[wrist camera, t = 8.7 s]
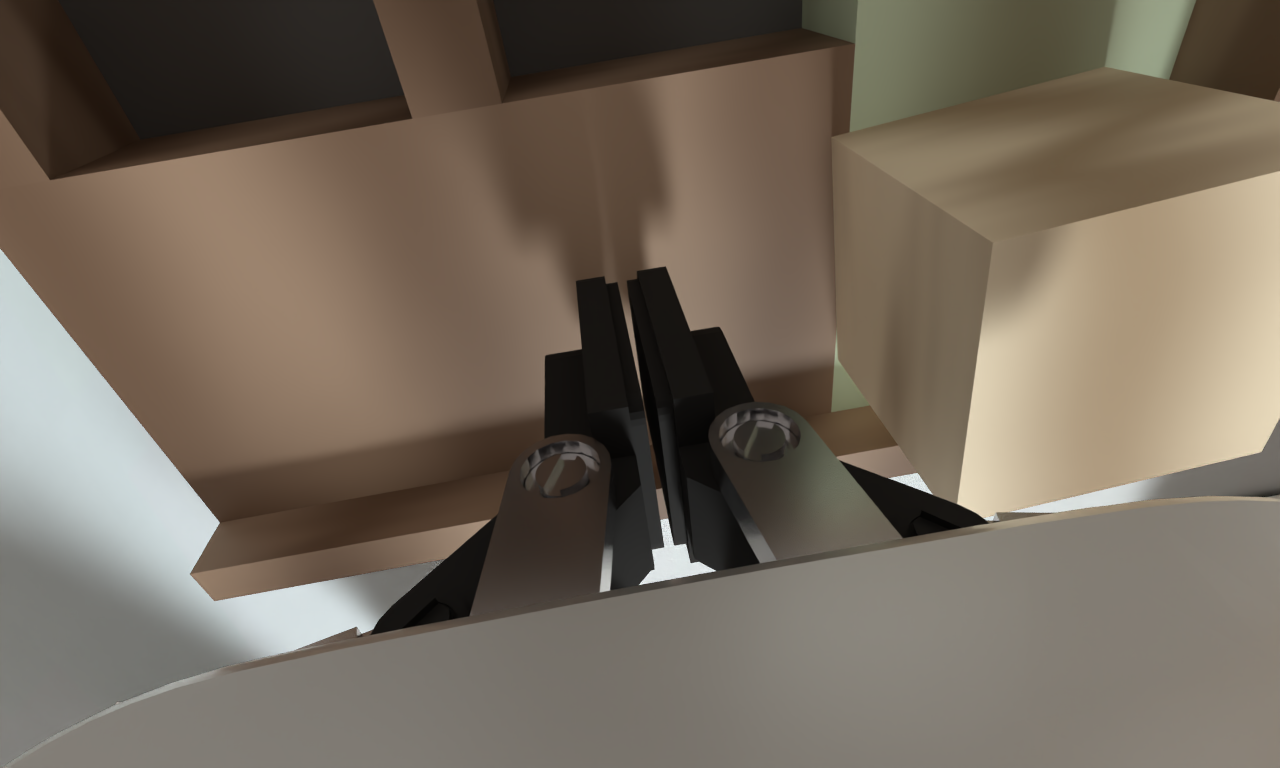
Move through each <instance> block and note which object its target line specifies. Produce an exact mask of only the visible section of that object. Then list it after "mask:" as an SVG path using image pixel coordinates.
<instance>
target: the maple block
mask: <svg viewBox="0 0 1280 768" xmlns="http://www.w3.org/2000/svg"><path fill="white" fill-rule="evenodd" d="M831 139H832V175H833V211H834V246H835V282H836V317H837V353H838V360H839V362H840V363H841V365H842V366H843V368H844V369H845V370H846V372H847V373H848V375H849V376H850V377H851V379H852V380H853V382H854V383H855V385H856V386H857V387H858V389H859V390H860V392H861V393H862V395H863V396H864V397H865V399H866V400H867V402H868V403H869V404H870V406H871V407H872V409H873V410H874V412H875V413H876V414H877V416H878V417H879V419H880V420H881V422H882V423H883V424H884V426H885V427H886V429H887V430H888V431H889V433H890V434H891V436H892V437H893V439H894V440H895V441H896V443H897V444H898V446H899V447H900V448H901V450H902V451H903V453H904V454H905V456H906V457H907V458H908V460H909V461H910V463H911V464H912V466H913V467H914V468H915V470H916V471H917V473H918V474H919V475H920V477H921V478H922V480H923V481H924V483H925V484H926V485H927V487H928V488H929V490H930V491H931V492H932V494H933V495H934V496H937V497H940V498H942V499H945V500H948V501H950V502H953V503H956V504H958V505H961V506H963V507H965V508H967V509H969V510H971V511H973V512H975V513H977V514H978V515H980V516H981V517H982V518H985V517H990V516H994V515H995V513H996V512H1011V511H1015V510H1019V509H1023V508H1028V507H1032V506H1036V505H1040V504H1045V503H1049V502H1053V501H1057V500H1061V499H1066V498H1070V497H1074V496H1078V495H1083V494H1087V493H1091V492H1095V491H1099V490H1104V489H1108V488H1112V487H1116V486H1121V485H1125V484H1129V483H1133V482H1138V481H1142V480H1146V479H1150V478H1154V477H1159V476H1163V475H1167V474H1171V473H1176V472H1180V471H1184V470H1188V469H1192V468H1197V467H1201V466H1205V465H1209V464H1214V463H1218V462H1222V461H1226V460H1231V459H1235V458H1239V457H1243V456H1247V455H1252V454H1256V453H1260V452H1262V450H1263V448H1264V446H1265V445H1266V443H1267V441H1268V439H1269V437H1270V435H1271V433H1272V431H1273V430H1274V428H1275V426H1276V424H1277V422H1278V420H1279V418H1280V102H1277V101H1272V100H1267V99H1262V98H1257V97H1252V96H1247V95H1242V94H1237V93H1232V92H1227V91H1222V90H1217V89H1213V88H1208V87H1203V86H1198V85H1193V84H1188V83H1183V82H1178V81H1173V80H1168V79H1163V78H1158V77H1153V76H1148V75H1144V74H1139V73H1134V72H1129V71H1124V70H1119V69H1114V68H1109V67H1101V68H1098V69H1094V70H1090V71H1086V72H1082V73H1078V74H1074V75H1070V76H1066V77H1063V78H1059V79H1055V80H1051V81H1047V82H1043V83H1039V84H1035V85H1032V86H1028V87H1024V88H1020V89H1016V90H1012V91H1008V92H1004V93H1000V94H997V95H993V96H989V97H985V98H981V99H977V100H973V101H969V102H966V103H962V104H958V105H954V106H950V107H946V108H942V109H938V110H934V111H931V112H927V113H923V114H919V115H915V116H911V117H907V118H903V119H900V120H896V121H892V122H888V123H884V124H880V125H876V126H872V127H868V128H865V129H861V130H857V131H853V132H849V133H845V134H841V135H837V136H834V137H831Z"/></svg>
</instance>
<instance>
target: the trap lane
mask: <svg viewBox="0 0 1280 768" xmlns="http://www.w3.org/2000/svg"><path fill="white" fill-rule="evenodd" d="M1101 67H1109V68H1114V69H1119V70H1124V71H1129V72H1134V73H1139V74H1144V75H1148V76H1153V77H1158V78H1163V79H1168V80H1173V81H1178V82H1183V83H1188V84H1193V85H1198V86H1203V87H1208V88H1213V89H1217V90H1222V91H1227V92H1232V93H1237V94H1242V95H1247V96H1252V97H1257V98H1262V99H1267V100H1272V101H1277V102H1280V0H0V249H1V250H2V251H3V252H4V254H5V255H6V256H7V257H8V259H9V260H10V261H11V262H12V264H13V265H14V266H15V267H16V269H17V270H18V271H19V272H20V274H21V275H22V276H23V277H24V279H25V280H26V281H27V282H28V284H29V285H30V286H31V287H32V289H33V290H34V291H35V292H36V294H37V295H38V296H39V297H40V299H41V300H42V301H43V302H44V304H45V305H46V306H47V307H48V309H49V310H50V311H51V312H52V313H53V315H54V316H55V317H56V318H57V320H58V321H59V322H60V323H61V325H62V326H63V327H64V328H65V330H66V331H67V332H68V333H69V335H70V336H71V337H72V338H73V340H74V341H75V342H76V343H77V345H78V346H79V347H80V348H81V350H82V351H83V352H84V353H85V355H86V356H87V357H88V358H89V360H90V361H91V362H92V363H93V365H94V366H95V367H96V368H97V370H98V371H99V372H100V373H101V375H102V376H103V377H104V378H105V380H106V381H107V382H108V383H109V385H110V386H111V387H112V388H113V390H114V391H115V392H116V393H117V395H118V396H119V397H120V398H121V400H122V401H123V402H124V403H125V405H126V406H127V407H128V408H129V410H130V411H131V412H132V413H133V415H134V416H135V417H136V418H137V420H138V421H139V422H140V423H141V424H142V426H143V427H144V428H145V429H146V431H147V432H148V433H149V434H150V436H151V437H152V438H153V439H154V441H155V442H156V443H157V444H158V446H159V447H160V448H161V449H162V451H163V452H164V453H165V454H166V456H167V457H168V458H169V459H170V461H171V462H172V463H173V464H174V466H175V467H176V468H177V469H178V471H179V472H180V473H181V474H182V476H183V477H184V478H185V479H186V481H187V482H188V483H189V484H190V486H191V487H192V488H193V489H194V491H195V492H196V493H197V494H198V496H199V497H200V498H201V499H202V501H203V502H204V503H205V504H206V506H207V507H208V508H209V509H210V511H211V512H212V513H213V514H214V516H215V517H216V518H217V519H218V521H219V522H220V524H219V525H218V527H217V529H216V531H215V532H214V534H213V536H212V537H211V539H210V541H209V542H208V544H207V546H206V548H205V549H204V551H203V553H202V554H201V556H200V558H199V560H198V561H197V563H196V565H195V566H194V568H193V570H192V572H191V573H190V575H191V576H192V577H193V578H194V579H195V580H196V581H197V582H198V584H199V585H200V586H201V587H202V588H203V589H204V590H205V591H206V592H207V593H208V594H209V596H210V597H211V598H212V599H213V600H214V601H218V600H223V599H228V598H234V597H239V596H245V595H250V594H256V593H261V592H267V591H272V590H278V589H283V588H289V587H294V586H300V585H305V584H311V583H316V582H322V581H327V580H333V579H338V578H344V577H349V576H354V575H360V574H365V573H371V572H376V571H382V570H387V569H393V568H398V567H404V566H409V565H415V564H420V563H426V562H431V561H437V560H442V559H447V558H448V557H449V556H450V555H451V554H452V553H453V552H455V551H456V550H457V549H458V548H459V547H460V546H461V545H463V544H464V543H465V542H466V541H467V540H468V539H469V538H471V537H472V536H473V535H474V534H475V533H476V532H478V531H479V530H480V529H481V528H482V527H483V526H484V525H486V524H487V523H488V522H489V521H490V520H491V519H492V518H494V517H495V516H496V515H497V514H498V511H499V508H500V504H501V500H502V497H503V493H504V489H505V486H506V482H507V479H508V475H509V471H510V469H511V467H512V465H513V463H514V461H515V460H516V459H517V457H518V456H519V455H520V454H521V453H522V452H523V451H524V450H525V449H527V448H528V447H530V446H531V445H533V444H535V443H536V442H538V441H541V440H543V439H544V409H545V356H546V355H549V354H555V353H561V352H567V351H573V350H579V349H582V345H581V334H580V323H579V312H578V300H577V289H576V281H578V280H584V279H590V278H596V277H602V276H605V281H606V284H608V283H614V282H618V287H619V291H620V296H621V301H622V305H623V310H624V315H625V319H626V324H627V329H628V333H629V338H630V343H631V347H632V352H633V357H634V361H635V366H636V371H637V375H638V380H639V385H640V389H641V394H642V387H641V380H640V373H639V366H638V359H637V352H636V345H635V338H634V331H633V324H632V317H631V310H630V303H629V296H628V289H627V280H633V279H637V271H639V270H646V269H652V268H658V267H664V266H666V268H667V270H668V273H669V276H670V278H671V281H672V284H673V286H674V289H675V291H676V294H677V297H678V299H679V302H680V305H681V307H682V310H683V313H684V315H685V318H686V321H687V323H688V326H689V329H690V331H694V330H700V329H706V328H712V327H720V328H721V330H722V331H723V334H724V336H725V338H726V340H727V342H728V344H729V347H730V349H731V351H732V353H733V355H734V357H735V360H736V362H737V364H738V366H739V368H740V370H741V373H742V375H743V377H744V379H745V381H746V383H747V386H748V388H749V390H750V392H751V394H752V396H753V399H754V401H755V402H770V403H774V404H778V405H783V406H785V407H787V408H789V409H792V410H794V411H796V412H797V413H798V414H800V415H801V416H802V417H803V418H804V419H805V420H806V421H807V422H808V423H809V424H810V426H811V427H812V428H813V429H814V430H815V432H816V433H817V434H818V435H819V437H820V438H821V439H822V440H823V441H824V443H825V444H826V445H827V446H828V448H829V449H830V450H831V451H832V452H833V454H834V455H835V456H836V457H837V458H838V460H840V461H843V462H846V463H848V464H851V465H854V466H856V467H859V468H862V469H864V470H867V471H870V472H872V473H875V474H878V475H881V476H883V477H886V478H891V477H897V476H902V475H908V474H913V473H917V471H916V470H915V468H914V467H913V466H912V464H911V463H910V461H909V460H908V458H907V457H906V456H905V454H904V453H903V451H902V450H901V448H900V447H899V446H898V444H897V443H896V441H895V440H894V439H893V437H892V436H891V434H890V433H889V431H888V430H887V429H886V427H885V426H884V424H883V423H882V422H881V420H880V419H879V417H878V416H877V414H876V413H875V412H874V410H873V409H872V407H871V406H870V404H869V403H868V402H867V400H866V399H865V397H864V396H863V395H862V393H861V392H860V390H859V389H858V387H857V386H856V385H855V383H854V382H853V380H852V379H851V377H850V376H849V375H848V373H847V372H846V370H845V369H844V368H843V366H842V365H841V363H840V362H839V360H838V353H837V317H836V282H835V246H834V211H833V175H832V139H831V137H834V136H837V135H841V134H845V133H849V132H853V131H857V130H861V129H865V128H868V127H872V126H876V125H880V124H884V123H888V122H892V121H896V120H900V119H903V118H907V117H911V116H915V115H919V114H923V113H927V112H931V111H934V110H938V109H942V108H946V107H950V106H954V105H958V104H962V103H966V102H969V101H973V100H977V99H981V98H985V97H989V96H993V95H997V94H1000V93H1004V92H1008V91H1012V90H1016V89H1020V88H1024V87H1028V86H1032V85H1035V84H1039V83H1043V82H1047V81H1051V80H1055V79H1059V78H1063V77H1066V76H1070V75H1074V74H1078V73H1082V72H1086V71H1090V70H1094V69H1098V68H1101ZM642 399H643V394H642ZM643 405H644V401H643ZM644 411H645V407H644ZM645 417H646V412H645ZM646 423H647V430H648V437H649V444H650V451H651V458H652V465H653V472H654V479H655V486H656V493H657V500H658V507H659V514H660V520H661V519H667V518H668V515H667V510H666V505H665V501H664V496H663V491H662V487H661V482H660V477H659V473H658V468H657V463H656V459H655V454H654V449H653V445H652V440H651V436H650V431H649V426H648V422H647V417H646Z"/></svg>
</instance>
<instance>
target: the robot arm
mask: <svg viewBox="0 0 1280 768" xmlns="http://www.w3.org/2000/svg"><path fill="white" fill-rule="evenodd" d="M576 289H577V300H578V312H579V323H580V334H581V345H582V349H579V350H573V351H567V352H561V353H555V354H549V355H546V356H545V409H544V439H543V440H541V441H538V442H536V443H535V444H533V445H531V446H530V447H528V448H527V449H525V450H524V451H523V452H522V453H521V454H520V455H519V456H518V457H517V459H516V460H515V461H514V463H513V465H512V467H511V469H510V471H509V475H508V479H507V482H506V486H505V489H504V493H503V497H502V500H501V504H500V508H499V511H498V514H497V515H496V516H495V517H494V518H492V519H491V520H490V521H489V522H488V523H487V524H486V525H484V526H483V527H482V528H481V529H480V530H479V531H478V532H476V533H475V534H474V535H473V536H472V537H471V538H469V539H468V540H467V541H466V542H465V543H464V544H463V545H461V546H460V547H459V548H458V549H457V550H456V551H455V552H453V553H452V554H451V555H450V556H449V557H448V558H447V559H445V560H444V561H443V562H442V563H441V564H440V565H439V566H437V567H436V568H435V569H434V570H433V571H432V572H430V573H429V574H428V575H427V576H426V577H425V578H424V579H422V580H421V581H420V582H419V583H418V584H417V585H416V586H414V587H413V588H412V589H411V590H410V591H409V592H408V593H406V594H405V595H404V596H403V597H402V598H401V599H399V600H398V601H397V602H396V603H395V604H394V605H393V606H392V607H391V608H390V609H389V610H388V611H387V612H386V613H385V614H384V615H383V616H382V617H381V618H380V619H379V621H378V622H377V624H376V626H375V627H374V629H373V630H371V631H368V632H366V633H363V634H362V633H361V632H360V631H359V629H358V628H357V627H355V628H352V629H350V630H347V631H344V632H342V633H339V634H336V635H334V636H331V637H328V638H326V639H323V640H320V641H318V642H315V643H313V644H310V645H307V646H305V647H302V648H299V649H297V650H294V651H290V652H286V653H282V654H277V655H273V656H269V657H264V658H260V659H256V660H251V661H247V662H243V663H238V664H234V665H230V666H225V667H222V668H219V669H216V670H212V671H209V672H206V673H202V674H199V675H196V676H193V677H189V678H186V679H183V680H179V681H176V682H173V683H170V684H167V685H165V686H162V687H159V688H157V689H154V690H152V691H149V692H146V693H144V694H141V695H139V696H136V697H133V698H131V699H128V700H126V701H123V702H120V703H118V704H115V705H113V706H111V707H109V708H107V709H105V710H103V711H101V712H99V713H97V714H95V715H93V716H91V717H89V718H87V719H85V720H83V721H81V722H79V723H77V724H75V725H73V726H71V727H69V728H67V729H65V730H63V731H61V732H59V733H57V734H55V735H54V736H52V737H50V738H48V739H47V740H45V741H43V742H42V743H40V744H38V745H36V746H35V747H33V748H31V749H30V750H28V751H26V752H25V753H23V754H22V755H20V756H19V757H17V758H16V759H14V760H13V761H11V762H10V763H8V764H7V765H5V766H4V767H2V768H1280V495H1275V496H1269V497H1235V496H1202V497H1187V498H1170V499H1153V500H1145V501H1138V502H1131V503H1123V504H1116V505H1109V506H1100V507H1092V508H1084V509H1078V510H1071V511H1065V512H1058V513H1015V512H996V513H995V516H994V519H993V521H986V520H985V519H983V518H982V517H981V516H980V515H978V514H977V513H975V512H973V511H971V510H969V509H967V508H965V507H963V506H961V505H958V504H956V503H953V502H950V501H948V500H945V499H942V498H940V497H937V496H934V495H932V494H929V493H926V492H924V491H921V490H918V489H915V488H913V487H910V486H907V485H905V484H902V483H899V482H897V481H894V480H891V479H889V478H886V477H883V476H881V475H878V474H875V473H872V472H870V471H867V470H864V469H862V468H859V467H856V466H854V465H851V464H848V463H846V462H843V461H840V460H838V458H837V457H836V456H835V455H834V454H833V452H832V451H831V450H830V449H829V448H828V446H827V445H826V444H825V443H824V441H823V440H822V439H821V438H820V437H819V435H818V434H817V433H816V432H815V430H814V429H813V428H812V427H811V426H810V424H809V423H808V422H807V421H806V420H805V419H804V418H803V417H802V416H801V415H800V414H798V413H797V412H796V411H794V410H792V409H789V408H787V407H785V406H783V405H778V404H774V403H770V402H755V401H754V399H753V396H752V394H751V392H750V390H749V388H748V386H747V383H746V381H745V379H744V377H743V375H742V373H741V370H740V368H739V366H738V364H737V362H736V360H735V357H734V355H733V353H732V351H731V349H730V347H729V344H728V342H727V340H726V338H725V336H724V334H723V331H722V330H721V328H720V327H712V328H706V329H700V330H694V331H690V329H689V326H688V323H687V321H686V318H685V315H684V313H683V310H682V307H681V305H680V302H679V299H678V297H677V294H676V291H675V289H674V286H673V284H672V281H671V278H670V276H669V273H668V270H667V268H666V266H664V267H658V268H652V269H646V270H639V271H637V279H633V280H627V289H628V296H629V303H630V310H631V317H632V324H633V331H634V338H635V345H636V352H637V359H638V366H639V373H640V380H641V387H642V394H643V399H642V394H641V389H640V385H639V380H638V375H637V371H636V366H635V361H634V357H633V352H632V347H631V343H630V338H629V333H628V329H627V324H626V319H625V315H624V310H623V305H622V301H621V296H620V291H619V287H618V282H614V283H608V284H606V281H605V276H602V277H596V278H590V279H584V280H578V281H576ZM643 401H644V405H643ZM644 407H645V411H644ZM645 412H646V417H647V422H648V426H649V431H650V436H651V440H652V445H653V449H654V454H655V459H656V463H657V468H658V473H659V477H660V482H661V487H662V491H663V496H664V501H665V505H666V510H667V515H668V519H669V524H670V529H671V533H672V538H673V542H674V545H680V544H686V545H687V549H688V554H689V558H690V562H691V563H694V562H701V563H703V564H705V565H706V566H708V567H710V568H712V569H714V570H716V571H715V572H710V573H704V574H698V575H693V576H687V577H682V578H676V579H671V580H665V581H660V582H654V583H649V584H643V585H639V584H640V583H641V581H642V580H643V579H644V578H645V577H646V576H647V574H648V573H649V572H650V571H651V570H655V569H654V561H653V555H652V549H658V548H663V547H664V543H663V536H662V529H661V521H660V514H659V507H658V500H657V493H656V486H655V479H654V472H653V465H652V458H651V451H650V444H649V437H648V430H647V423H646V417H645Z"/></svg>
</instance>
